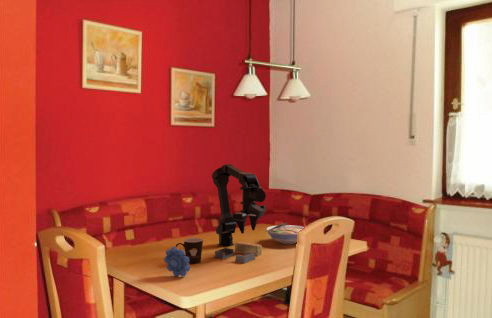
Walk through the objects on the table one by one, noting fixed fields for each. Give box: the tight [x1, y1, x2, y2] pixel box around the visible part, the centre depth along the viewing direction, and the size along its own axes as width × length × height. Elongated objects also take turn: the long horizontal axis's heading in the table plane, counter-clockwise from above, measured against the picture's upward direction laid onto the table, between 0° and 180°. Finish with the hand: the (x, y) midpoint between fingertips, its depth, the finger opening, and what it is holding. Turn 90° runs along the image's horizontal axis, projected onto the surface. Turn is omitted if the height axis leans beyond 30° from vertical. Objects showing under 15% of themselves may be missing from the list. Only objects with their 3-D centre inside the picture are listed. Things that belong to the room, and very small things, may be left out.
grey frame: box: [213, 247, 256, 264], centre depth 209 cm, size 17×9×3 cm, turn 55°
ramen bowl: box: [265, 222, 305, 245], centre depth 240 cm, size 25×23×8 cm
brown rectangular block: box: [234, 240, 262, 257], centre depth 218 cm, size 13×4×5 cm, turn 58°
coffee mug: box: [175, 237, 204, 265], centre depth 203 cm, size 12×9×10 cm
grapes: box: [163, 246, 191, 277], centre depth 181 cm, size 12×7×12 cm, turn 70°
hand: (248, 231), depth 218 cm, fingers open, 9 cm apart
